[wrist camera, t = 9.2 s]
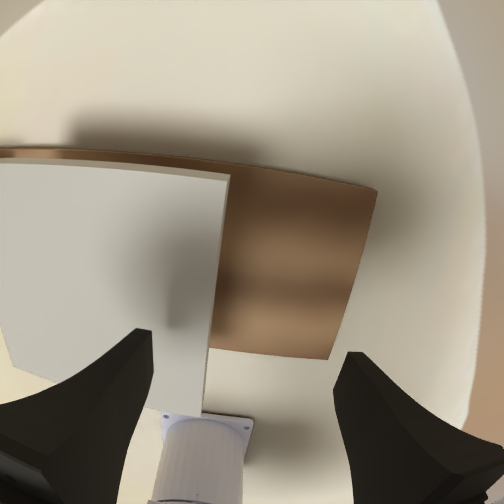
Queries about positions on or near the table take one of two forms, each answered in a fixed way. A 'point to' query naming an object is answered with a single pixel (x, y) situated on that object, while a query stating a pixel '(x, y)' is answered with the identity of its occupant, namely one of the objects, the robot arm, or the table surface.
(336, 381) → the robot arm
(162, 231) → the slab
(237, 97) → the table surface
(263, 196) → the roller board
